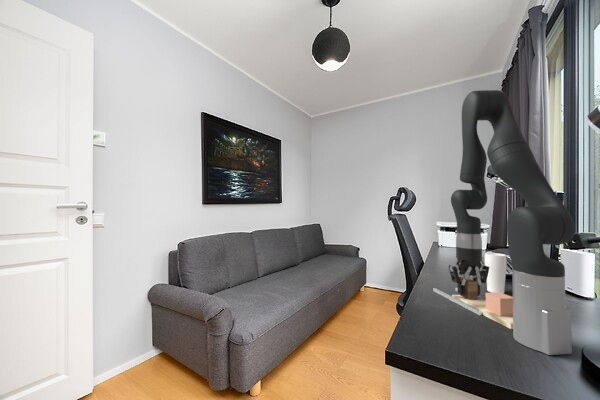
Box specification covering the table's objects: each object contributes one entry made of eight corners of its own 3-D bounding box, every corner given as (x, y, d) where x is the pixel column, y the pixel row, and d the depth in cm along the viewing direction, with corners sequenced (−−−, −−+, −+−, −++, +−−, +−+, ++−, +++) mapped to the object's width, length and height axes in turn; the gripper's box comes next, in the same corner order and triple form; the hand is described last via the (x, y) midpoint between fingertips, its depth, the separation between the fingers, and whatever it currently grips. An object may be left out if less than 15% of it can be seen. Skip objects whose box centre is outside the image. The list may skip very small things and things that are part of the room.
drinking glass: (481, 290, 98) (480, 253, 99) (490, 288, 101) (490, 252, 102) (500, 296, 92) (500, 256, 93) (510, 294, 95) (510, 255, 95)
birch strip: (537, 328, 67) (536, 300, 67) (510, 329, 66) (510, 301, 67) (472, 298, 89) (472, 277, 89) (452, 299, 88) (452, 278, 88)
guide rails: (509, 314, 76) (509, 310, 76) (479, 315, 75) (479, 311, 75) (457, 290, 98) (457, 287, 98) (433, 291, 97) (433, 287, 97)
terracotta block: (516, 315, 72) (515, 298, 72) (500, 316, 71) (500, 298, 71) (500, 308, 77) (500, 292, 77) (485, 309, 76) (485, 292, 76)
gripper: (457, 248, 82) (458, 299, 81) (496, 247, 83) (497, 298, 83) (442, 244, 89) (442, 291, 89) (478, 244, 91) (478, 291, 90)
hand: (469, 294), depth 86 cm, fingers open, 4 cm apart
